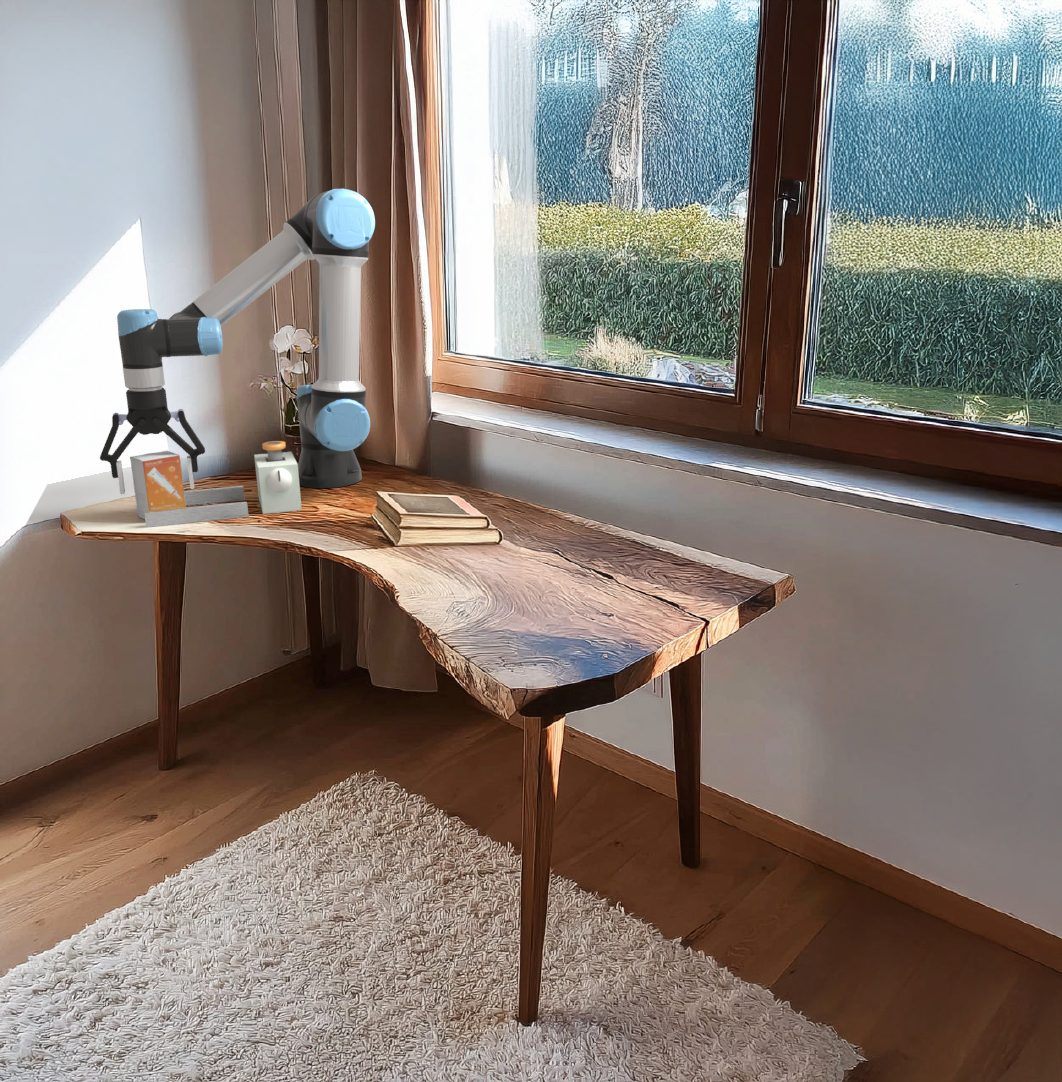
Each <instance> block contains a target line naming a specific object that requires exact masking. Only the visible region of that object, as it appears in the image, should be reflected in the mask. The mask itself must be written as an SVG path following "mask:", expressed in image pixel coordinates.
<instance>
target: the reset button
mask: <svg viewBox="0 0 1062 1082" xmlns="http://www.w3.org/2000/svg"><path fill="white" fill-rule="evenodd" d="M261 445H262V449H263V451H266V452H267V453H266V454H268V462H274V461H283V458H282V452H283V450H284V449H286V448H287V445H286V441H283V440H272V441H265V442H263V443H261Z"/></svg>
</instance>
